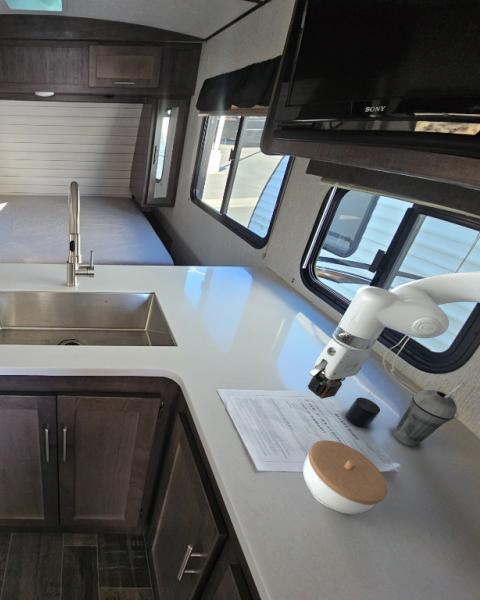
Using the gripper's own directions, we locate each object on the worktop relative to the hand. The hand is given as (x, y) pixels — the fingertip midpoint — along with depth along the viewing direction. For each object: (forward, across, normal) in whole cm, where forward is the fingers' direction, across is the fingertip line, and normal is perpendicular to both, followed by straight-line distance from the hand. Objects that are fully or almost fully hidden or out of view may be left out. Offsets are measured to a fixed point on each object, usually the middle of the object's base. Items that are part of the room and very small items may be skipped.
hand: (321, 389), depth 86 cm
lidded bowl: (+6, -18, -20) cm, 28 cm away
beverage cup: (+6, +14, -14) cm, 21 cm away
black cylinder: (+6, +7, -7) cm, 12 cm away
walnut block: (+1, 0, 0) cm, 1 cm away
